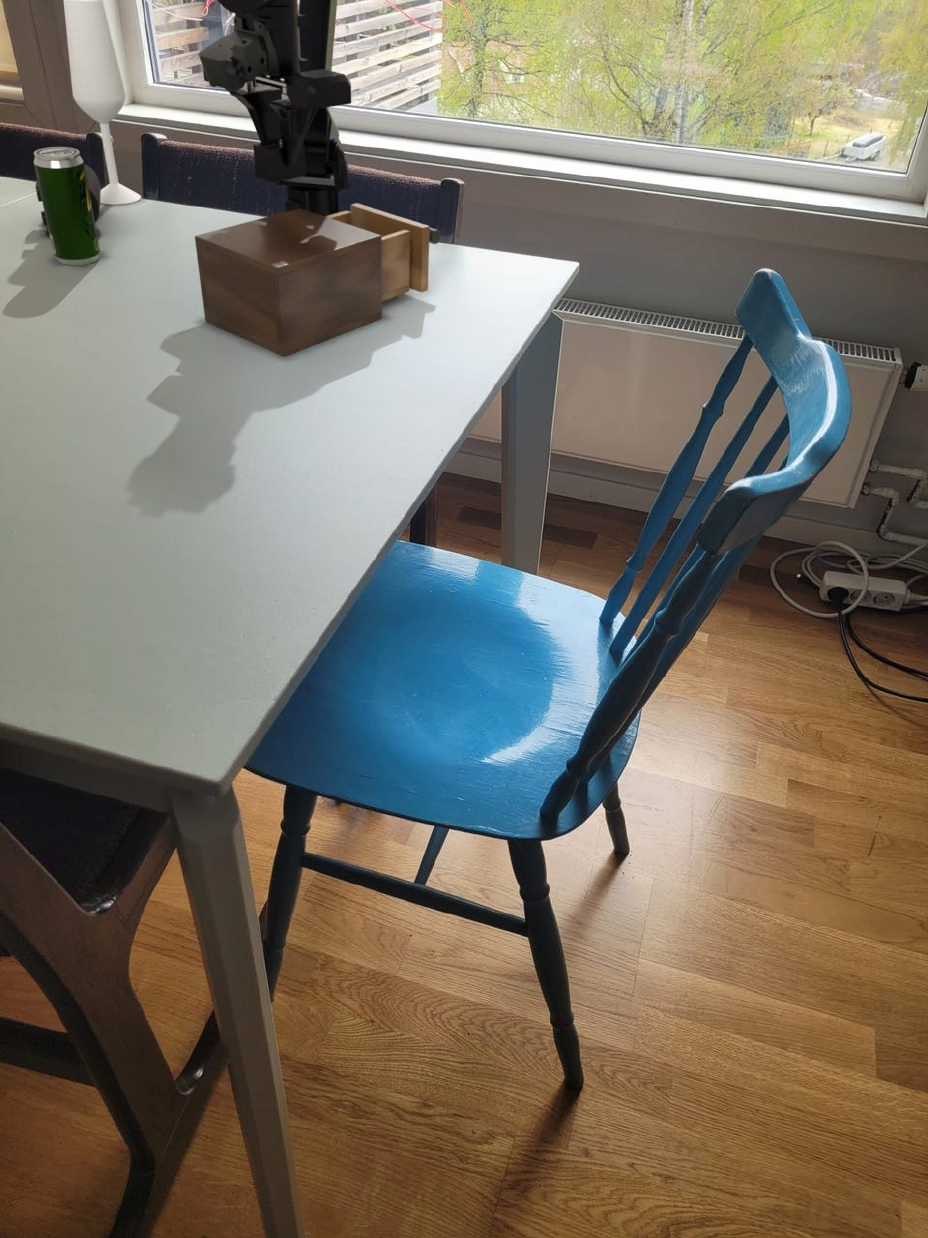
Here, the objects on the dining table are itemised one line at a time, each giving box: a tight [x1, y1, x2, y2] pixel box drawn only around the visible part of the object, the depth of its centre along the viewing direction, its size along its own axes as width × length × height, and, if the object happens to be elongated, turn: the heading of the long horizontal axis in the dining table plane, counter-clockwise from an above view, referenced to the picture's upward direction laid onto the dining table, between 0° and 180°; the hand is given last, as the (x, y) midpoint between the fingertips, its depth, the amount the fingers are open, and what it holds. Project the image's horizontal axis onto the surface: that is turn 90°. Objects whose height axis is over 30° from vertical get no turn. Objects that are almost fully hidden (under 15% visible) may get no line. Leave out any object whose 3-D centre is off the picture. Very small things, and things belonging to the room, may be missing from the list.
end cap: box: [35, 163, 102, 238], centre depth 124 cm, size 10×7×7 cm
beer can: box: [33, 146, 101, 266], centre depth 113 cm, size 5×5×12 cm
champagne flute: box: [63, 0, 142, 206], centre depth 129 cm, size 7×7×24 cm
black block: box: [252, 139, 306, 184], centre depth 111 cm, size 5×3×4 cm, turn 139°
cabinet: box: [194, 208, 383, 357], centre depth 103 cm, size 15×13×9 cm
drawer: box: [325, 202, 442, 302], centre depth 110 cm, size 18×11×7 cm, turn 140°
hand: (280, 162), depth 111 cm, fingers closed on black block, 3 cm apart
